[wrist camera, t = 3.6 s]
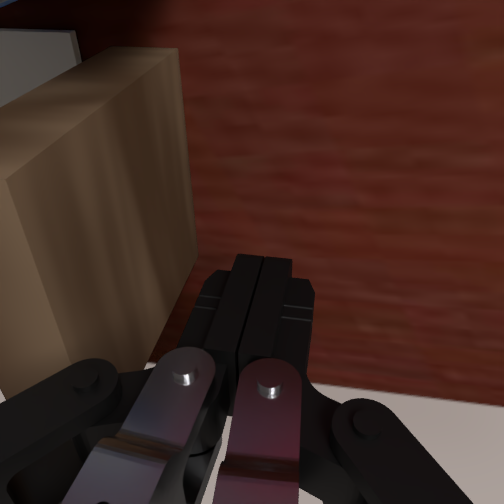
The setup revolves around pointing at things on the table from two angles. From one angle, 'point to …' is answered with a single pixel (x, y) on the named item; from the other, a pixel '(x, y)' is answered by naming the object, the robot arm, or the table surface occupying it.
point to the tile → (93, 215)
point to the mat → (34, 59)
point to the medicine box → (5, 2)
